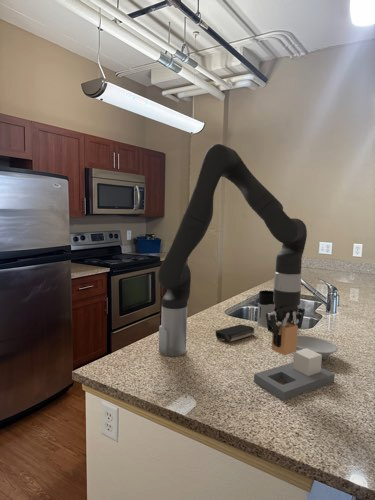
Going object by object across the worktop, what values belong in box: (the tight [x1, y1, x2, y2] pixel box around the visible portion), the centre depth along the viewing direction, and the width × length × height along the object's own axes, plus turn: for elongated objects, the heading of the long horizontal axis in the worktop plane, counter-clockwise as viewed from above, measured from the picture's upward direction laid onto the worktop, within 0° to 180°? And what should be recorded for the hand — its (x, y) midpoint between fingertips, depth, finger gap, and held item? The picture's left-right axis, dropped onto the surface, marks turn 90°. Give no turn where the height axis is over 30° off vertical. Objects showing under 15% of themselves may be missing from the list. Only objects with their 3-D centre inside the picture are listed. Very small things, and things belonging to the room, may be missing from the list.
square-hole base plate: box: [253, 348, 336, 401], centre depth 104 cm, size 22×12×8 cm, turn 121°
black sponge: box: [215, 324, 255, 343], centre depth 141 cm, size 16×8×4 cm, turn 128°
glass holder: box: [245, 290, 275, 328], centre depth 156 cm, size 9×14×15 cm, turn 95°
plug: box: [271, 321, 299, 356], centre depth 100 cm, size 5×5×8 cm
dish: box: [296, 334, 339, 358], centre depth 123 cm, size 18×14×5 cm
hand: (284, 344), depth 100 cm, fingers closed on plug, 5 cm apart
